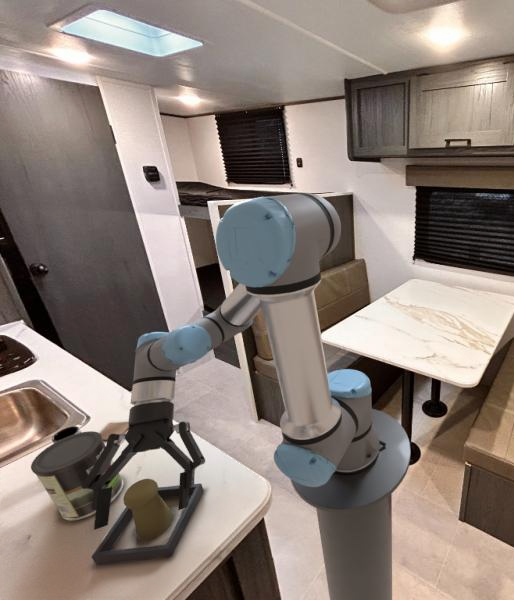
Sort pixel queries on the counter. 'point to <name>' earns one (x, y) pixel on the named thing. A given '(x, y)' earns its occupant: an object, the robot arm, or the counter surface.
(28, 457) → the counter surface
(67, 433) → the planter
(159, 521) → the pepper shaker
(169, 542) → the open rectangular frame
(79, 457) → the coffee can
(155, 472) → the counter surface
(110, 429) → the coaster
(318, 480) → the robot arm
